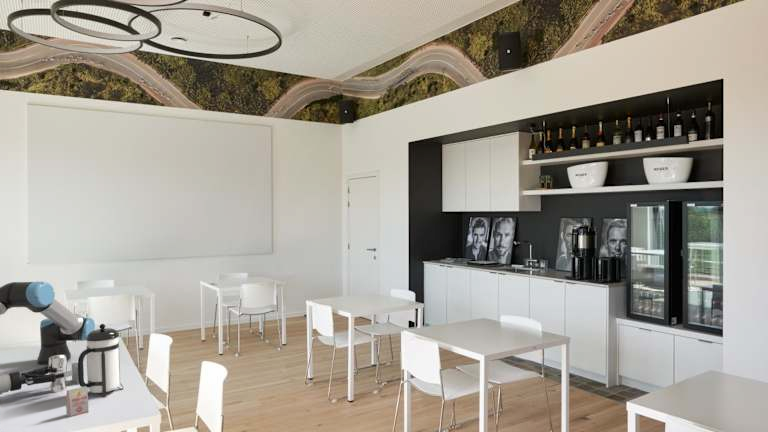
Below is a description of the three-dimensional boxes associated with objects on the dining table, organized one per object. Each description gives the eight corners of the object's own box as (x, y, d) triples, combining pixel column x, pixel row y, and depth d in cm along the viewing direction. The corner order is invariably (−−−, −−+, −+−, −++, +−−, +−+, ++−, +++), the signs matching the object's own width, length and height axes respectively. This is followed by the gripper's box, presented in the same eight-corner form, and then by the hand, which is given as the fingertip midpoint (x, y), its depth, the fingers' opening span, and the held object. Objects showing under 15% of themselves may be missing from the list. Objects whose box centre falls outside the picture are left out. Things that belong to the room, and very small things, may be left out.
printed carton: (66, 414, 204) (65, 389, 204) (85, 409, 209) (84, 385, 208) (69, 417, 201) (68, 391, 201) (88, 412, 206) (87, 387, 206)
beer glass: (71, 388, 235) (70, 355, 234) (57, 393, 228) (56, 359, 228) (60, 386, 237) (58, 353, 237) (45, 392, 230) (44, 358, 230)
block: (77, 384, 239) (76, 367, 239) (72, 380, 246) (71, 363, 246) (83, 383, 241) (82, 366, 241) (77, 379, 247) (77, 362, 247)
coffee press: (84, 389, 232) (82, 322, 232) (124, 384, 238) (122, 318, 238) (78, 403, 216) (76, 331, 216) (122, 396, 222) (119, 326, 222)
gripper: (4, 385, 228) (62, 372, 243) (14, 398, 212) (76, 384, 227) (3, 368, 228) (61, 356, 243) (14, 379, 211) (75, 367, 227)
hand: (68, 370), depth 235 cm, fingers open, 10 cm apart
